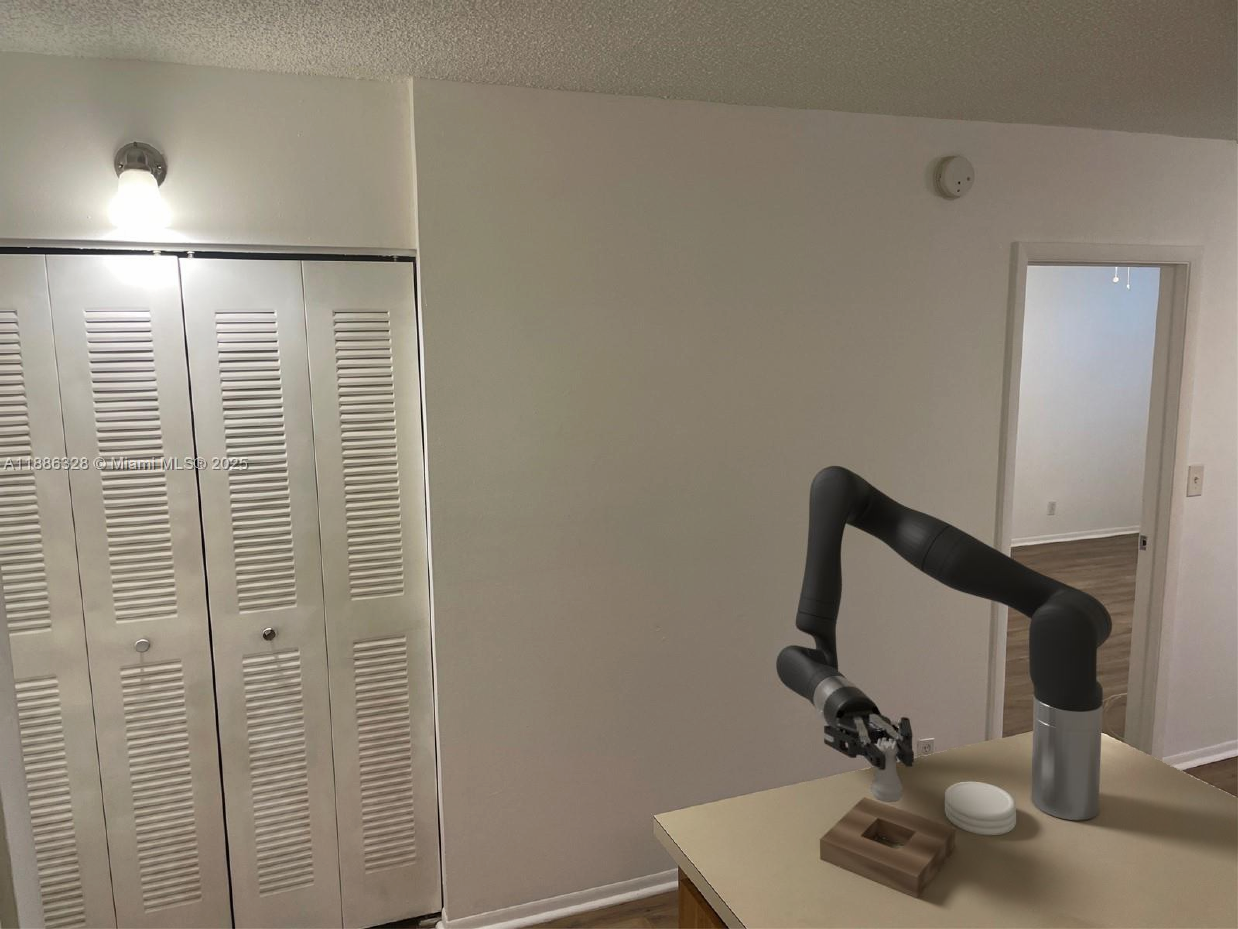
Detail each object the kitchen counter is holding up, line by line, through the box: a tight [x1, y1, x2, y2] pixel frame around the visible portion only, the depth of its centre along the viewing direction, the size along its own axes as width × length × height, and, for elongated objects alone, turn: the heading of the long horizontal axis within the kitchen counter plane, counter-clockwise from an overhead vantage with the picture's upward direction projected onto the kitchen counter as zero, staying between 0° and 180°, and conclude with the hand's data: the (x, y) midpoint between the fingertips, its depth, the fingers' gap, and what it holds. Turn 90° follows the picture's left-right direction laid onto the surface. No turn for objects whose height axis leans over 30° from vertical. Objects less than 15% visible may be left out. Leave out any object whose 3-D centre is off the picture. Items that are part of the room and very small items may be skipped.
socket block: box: [819, 796, 957, 899], centre depth 119 cm, size 14×14×3 cm
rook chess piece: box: [869, 738, 904, 803], centre depth 118 cm, size 4×4×8 cm
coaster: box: [944, 781, 1017, 836], centre depth 127 cm, size 10×10×4 cm
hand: (896, 762), depth 115 cm, fingers closed on rook chess piece, 3 cm apart
